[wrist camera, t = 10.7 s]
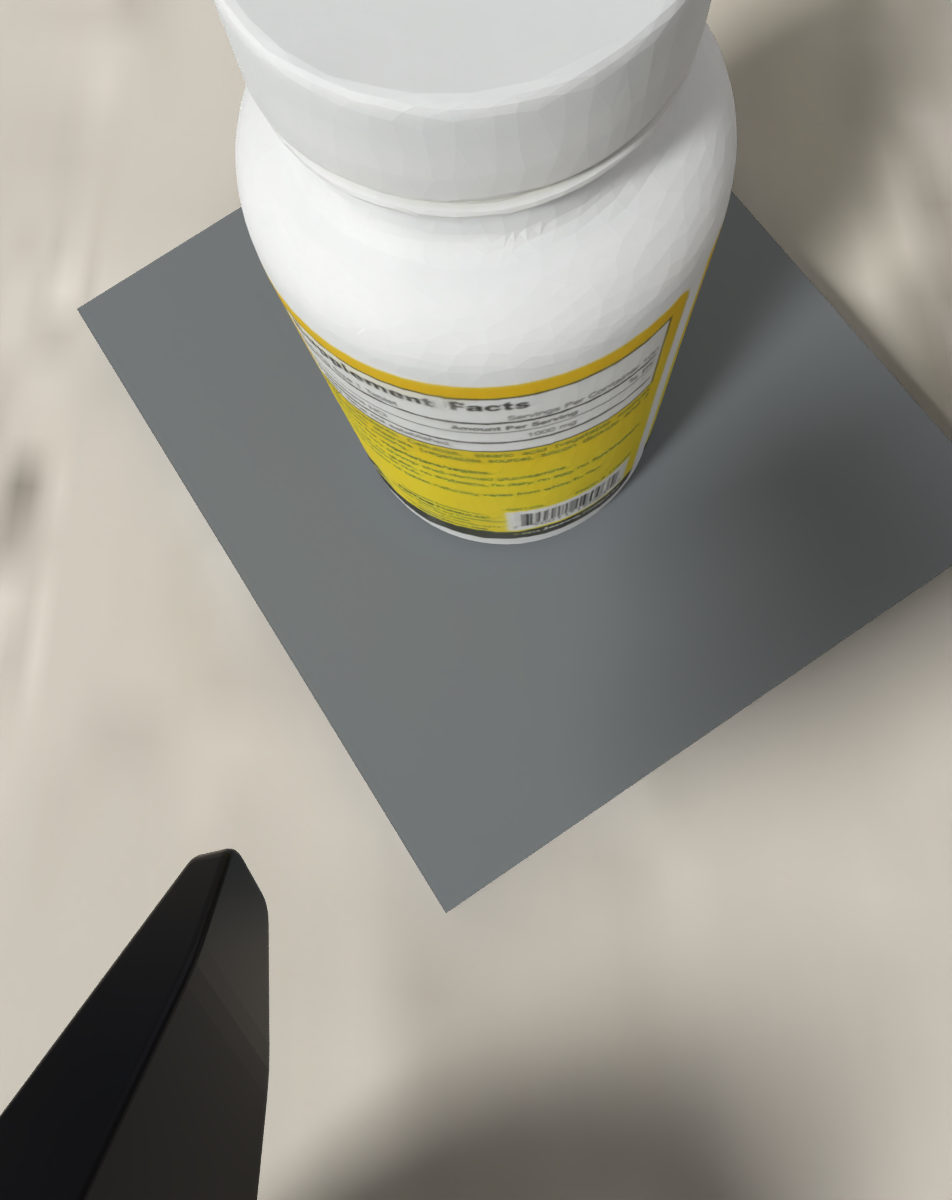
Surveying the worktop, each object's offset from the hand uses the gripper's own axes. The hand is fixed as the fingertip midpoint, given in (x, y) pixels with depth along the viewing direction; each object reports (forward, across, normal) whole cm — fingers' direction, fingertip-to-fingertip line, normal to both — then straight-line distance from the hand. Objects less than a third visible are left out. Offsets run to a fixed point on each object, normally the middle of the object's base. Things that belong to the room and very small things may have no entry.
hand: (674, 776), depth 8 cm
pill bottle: (+11, 0, 0) cm, 11 cm away
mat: (+12, 0, +1) cm, 12 cm away
